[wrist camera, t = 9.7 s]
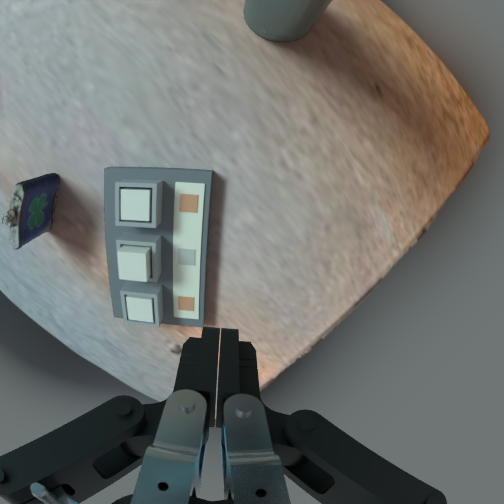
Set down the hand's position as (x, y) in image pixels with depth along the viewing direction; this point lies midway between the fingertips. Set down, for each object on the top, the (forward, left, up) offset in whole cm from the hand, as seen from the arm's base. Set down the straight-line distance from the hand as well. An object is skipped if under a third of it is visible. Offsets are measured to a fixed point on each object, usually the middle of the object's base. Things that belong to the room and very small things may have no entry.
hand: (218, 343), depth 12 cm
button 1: (+13, -11, -25) cm, 30 cm away
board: (+6, -9, -27) cm, 29 cm away
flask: (0, -27, -27) cm, 38 cm away
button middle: (+6, -11, -23) cm, 26 cm away
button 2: (-1, -11, -24) cm, 27 cm away
